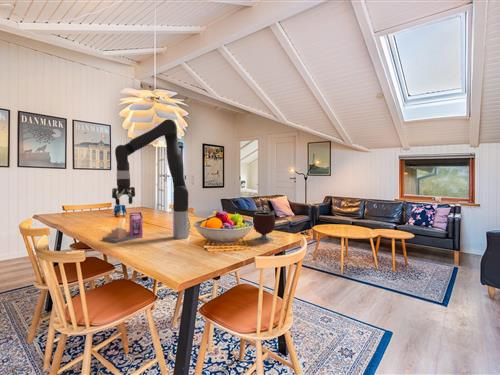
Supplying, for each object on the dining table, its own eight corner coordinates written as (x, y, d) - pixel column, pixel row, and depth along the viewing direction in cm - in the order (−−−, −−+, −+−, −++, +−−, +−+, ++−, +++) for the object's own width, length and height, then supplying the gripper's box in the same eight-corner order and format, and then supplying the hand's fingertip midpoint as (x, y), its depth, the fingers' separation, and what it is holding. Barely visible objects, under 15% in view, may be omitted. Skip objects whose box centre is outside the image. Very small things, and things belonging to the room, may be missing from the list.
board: (121, 236, 178) (121, 224, 178) (134, 238, 172) (134, 226, 171) (102, 240, 167) (102, 227, 166) (115, 243, 160) (115, 230, 160)
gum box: (143, 238, 174) (143, 217, 173) (129, 239, 170) (129, 218, 170) (141, 231, 196) (141, 212, 195) (129, 231, 192) (129, 212, 192)
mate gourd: (248, 240, 173) (249, 208, 172) (260, 236, 185) (260, 206, 184) (270, 244, 165) (270, 211, 164) (280, 239, 176) (281, 208, 175)
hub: (119, 235, 173) (119, 228, 173) (126, 236, 170) (126, 229, 169) (111, 237, 168) (111, 229, 168) (118, 238, 165) (118, 231, 165)
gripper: (129, 177, 176) (130, 203, 177) (108, 178, 164) (109, 205, 164) (137, 177, 172) (138, 203, 173) (116, 178, 160) (117, 206, 161)
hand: (124, 204), depth 169 cm, fingers open, 8 cm apart
